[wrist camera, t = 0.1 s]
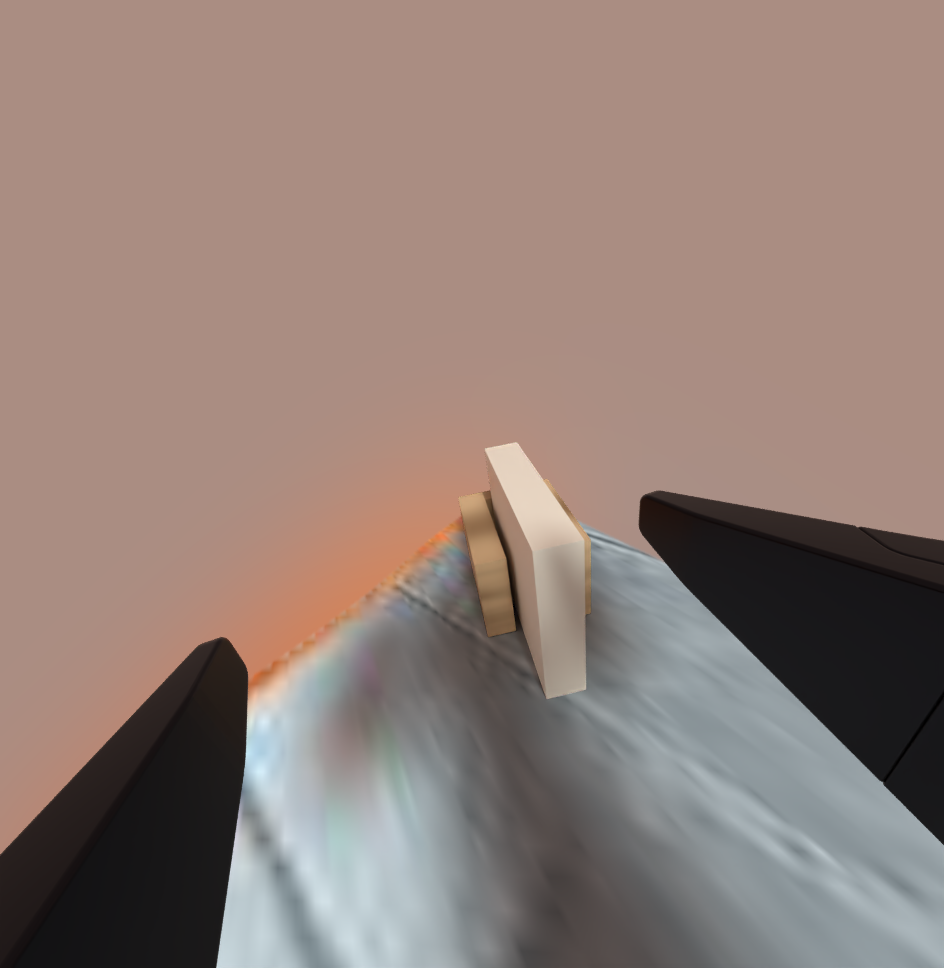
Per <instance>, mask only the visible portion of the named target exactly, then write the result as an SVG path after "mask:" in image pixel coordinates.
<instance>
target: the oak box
mask: <svg viewBox="0 0 944 968" xmlns="http://www.w3.org/2000/svg"><path fill="white" fill-rule="evenodd" d="M543 481H544V482H545V484H546V485H547V487H548V488H549V489H550V491H551V492H552V494H553V495H554V497H555V498H556V500H557V501H558V502H559V504H560V505H561V507H562V508H563V510H564V511H565V513H566V514H567V515H568V517H569V518H570V520H571V521H572V523H573V524H574V526H575V527H576V528H577V530H578V531H579V533H580V534H581V536H582V537H583V539H584V549H585V615H586V614H591V540H590V538H589V537H588V535H587V534H586V533H585V531H584V530H583V528H582V527H581V526H580V524H579V523H578V521H577V520H576V519H575V517H574V516H573V515H572V513H571V512H570V510H569V509H568V507H567V506H566V505H565V503H564V502H563V500H562V499H561V498H560V496H559V495H558V493H557V492H556V491H555V489H554V488H553V486H552V485H551V484H550V482H549V481H548V480H547V479H543ZM458 500H459V505H460V510H461V515H462V520H463V525H464V530H465V535H466V540H467V546H468V551H469V556H470V561H471V565H472V569H473V574H474V578H475V582H476V587H477V591H478V595H479V600H480V604H481V608H482V613H483V617H484V621H485V626H486V630H487V634H488V637H491V636H496V635H500V634H504V633H509V632H513V631H516V625H515V618H514V611H513V604H512V597H511V589H510V582H509V575H508V568H507V560H506V556H505V554H504V551H503V548H502V545H501V543H500V540H499V537H498V534H497V531H496V525H495V518H494V511H493V504H492V497H491V491H486V492H481V493H476V494H471V495H467V496H462V497H458Z"/></svg>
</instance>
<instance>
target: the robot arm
mask: <svg viewBox="0 0 944 968" xmlns="http://www.w3.org/2000/svg"><path fill="white" fill-rule="evenodd" d="M639 529H640V531H641V533H642V535H643V536H644V537H645V539H646V540H647V541H648V542H649V544H650V545H651V546H652V547H653V548H654V550H655V551H656V552H657V553H658V554H659V556H660V557H661V558H662V559H663V560H664V562H665V563H666V564H667V565H668V567H669V568H670V569H671V570H672V571H673V573H674V574H675V575H676V576H677V577H678V579H679V580H680V581H681V582H682V583H683V584H684V585H685V586H686V587H687V588H688V590H689V591H690V592H691V593H692V594H693V595H694V596H695V597H696V598H697V599H698V600H699V601H700V602H701V603H702V604H703V605H704V606H705V607H706V608H707V609H708V610H709V611H710V612H711V613H712V614H713V615H714V616H715V617H716V618H717V619H718V620H719V621H720V622H721V623H722V624H723V625H724V626H725V627H726V628H727V629H728V630H729V631H730V632H731V633H732V634H733V635H734V636H735V637H736V638H737V639H738V640H739V641H740V642H741V643H742V644H743V645H744V646H745V647H746V648H747V649H748V650H749V651H750V652H751V653H752V654H753V655H754V656H755V657H756V658H757V659H758V660H759V661H760V662H761V663H762V664H763V665H764V666H765V667H766V668H767V669H768V670H769V671H770V672H771V673H772V674H773V675H774V676H775V677H776V678H777V679H778V680H779V681H780V682H781V683H782V684H783V685H784V686H785V687H786V688H787V689H788V690H789V691H790V692H791V693H792V694H793V695H794V696H795V697H796V698H797V699H798V700H799V701H800V702H801V703H802V704H803V705H804V706H805V707H806V708H807V709H808V710H809V711H810V712H811V713H812V714H813V715H814V716H815V717H816V718H817V719H818V720H819V721H820V722H821V723H822V724H823V725H824V726H825V727H827V728H828V729H829V730H830V731H831V732H832V733H833V734H834V735H835V736H836V737H837V738H838V739H839V740H840V741H841V742H842V743H843V744H844V745H845V746H846V747H847V748H848V749H849V750H850V751H851V752H852V753H853V754H854V755H855V756H856V757H857V758H858V759H859V760H860V761H861V762H862V763H863V764H864V765H865V766H866V767H867V768H868V769H869V770H870V771H871V772H872V773H873V774H874V775H875V776H876V777H877V778H878V779H879V780H880V781H881V782H883V785H884V786H885V787H886V788H887V789H888V790H889V791H890V792H891V793H892V794H893V795H894V796H895V797H896V798H897V799H898V800H899V801H900V802H901V803H902V804H903V805H904V806H905V807H906V808H907V809H908V810H909V811H910V812H911V813H912V814H913V815H914V816H915V817H916V818H917V819H918V820H919V821H920V822H921V823H922V824H923V825H924V826H925V827H926V828H927V829H928V830H929V831H930V832H931V833H932V834H933V835H934V836H935V837H936V838H937V839H938V840H939V841H940V842H941V843H942V844H943V845H944V541H942V540H936V539H929V538H923V537H917V536H911V535H905V534H900V533H893V532H887V531H882V530H876V529H871V528H866V527H858V528H857V527H856V526H853V525H848V524H842V523H837V522H832V521H826V520H821V519H815V518H809V517H804V516H798V515H793V514H787V513H782V512H776V511H771V510H765V509H760V508H754V507H748V506H743V505H737V504H732V503H726V502H721V501H715V500H710V499H704V498H699V497H693V496H687V495H682V494H676V493H670V492H665V491H654V492H651V493H648V494H645V495H644V496H643V497H642V498H641V500H640V511H639ZM247 701H248V672H247V668H246V665H245V664H244V662H243V660H242V659H241V657H240V656H239V654H238V653H237V651H236V650H235V648H234V647H233V645H232V644H231V643H230V641H229V640H228V639H227V638H223V637H220V638H217V639H214V640H212V641H208V642H205V643H203V644H200V645H199V646H198V647H196V648H195V650H194V651H193V652H192V653H191V654H190V655H189V656H188V657H187V658H186V659H185V660H184V661H183V662H182V663H181V664H180V665H179V666H178V667H177V668H176V670H175V671H174V672H173V673H172V674H171V675H170V676H169V677H168V678H167V679H166V680H165V681H164V682H163V683H162V685H161V686H159V687H158V689H157V690H156V691H155V692H154V693H153V694H152V695H151V696H150V697H149V698H148V699H147V700H146V701H145V702H144V703H143V704H142V705H141V707H140V708H139V709H138V710H137V711H136V712H135V713H134V714H133V715H132V716H131V717H130V718H129V719H128V721H126V722H125V724H124V725H123V726H122V727H121V728H120V729H119V730H118V731H117V732H116V733H115V734H114V735H113V736H112V737H111V738H110V739H109V740H108V741H107V742H106V744H105V745H104V746H103V747H102V748H101V749H100V750H99V751H98V752H97V753H96V754H95V755H94V756H93V757H92V758H91V759H90V760H89V762H88V763H87V764H86V765H85V766H84V767H83V768H82V769H81V770H80V771H79V772H78V773H77V774H76V775H75V776H74V777H73V778H72V780H71V781H70V782H69V783H68V784H67V785H66V786H65V787H64V788H63V789H62V790H61V791H60V792H59V793H58V794H57V795H56V796H55V797H54V799H53V800H52V801H51V802H50V803H49V804H48V805H47V806H46V807H45V808H44V809H43V810H42V811H41V812H40V813H39V814H38V815H37V817H35V819H34V820H33V821H32V822H31V823H30V824H29V825H28V826H27V827H26V828H25V829H24V830H23V831H22V832H21V833H20V834H19V836H18V837H17V838H16V839H15V840H14V841H13V842H12V843H11V844H10V845H9V846H8V847H7V848H6V849H5V850H4V851H3V853H2V854H0V968H216V966H217V959H218V952H219V945H220V938H221V931H222V924H223V917H224V910H225V903H226V896H227V889H228V882H229V875H230V868H231V861H232V854H233V847H234V840H235V833H236V826H237V819H238V811H239V804H240V797H241V790H242V783H243V776H244V768H245V757H246V734H247Z"/></svg>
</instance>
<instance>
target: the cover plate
mask: <svg viewBox="0 0 944 968" xmlns="http://www.w3.org/2000/svg"><path fill="white" fill-rule="evenodd" d="M484 450H485V457H486V463H487V470H488V477H489V484H490V491H491V497H492V504H493V511H494V518H495V525H496V531H497V534H498V537H499V540H500V543H501V545H502V548H503V551H504V554H505V556H506V560H507V568H508V575H509V582H510V589H511V595H512V598H513V601H514V604H515V607H516V610H517V613H518V616H519V619H520V622H521V625H522V628H523V631H524V634H525V637H526V640H527V643H528V646H529V649H530V652H531V655H532V658H533V661H534V664H535V667H536V670H537V673H538V676H539V679H540V682H541V685H542V688H543V691H544V694H545V697H546V699H550V698H554V697H558V696H562V695H566V694H570V693H574V692H579V691H583V690H586V634H585V549H584V539H583V537H582V536H581V534H580V533H579V531H578V530H577V528H576V527H575V526H574V524H573V523H572V521H571V520H570V518H569V517H568V515H567V514H566V513H565V511H564V510H563V508H562V507H561V505H560V504H559V502H558V501H557V500H556V498H555V497H554V495H553V494H552V492H551V491H550V489H549V488H548V487H547V485H546V484H545V482H544V481H543V479H542V478H541V476H540V475H539V474H538V472H537V471H536V469H535V468H534V466H533V465H532V464H531V462H530V461H529V459H528V458H527V456H526V455H525V453H524V452H523V450H522V449H521V447H520V446H519V445H518V443H517V442H516V443H511V444H505V445H500V446H496V447H491V448H486V449H484Z"/></svg>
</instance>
